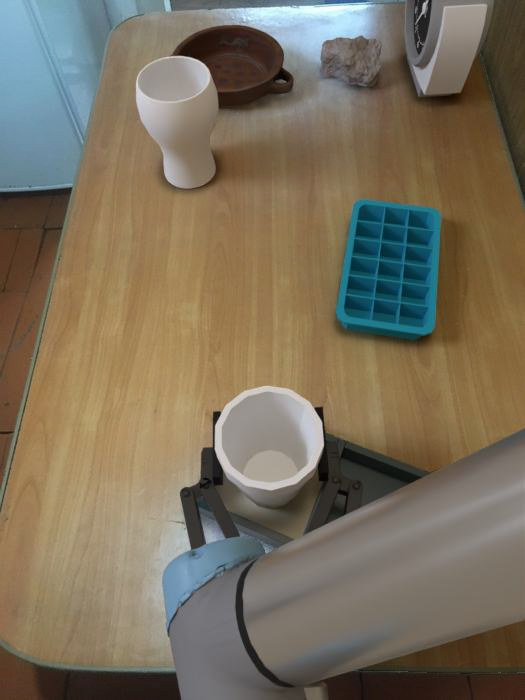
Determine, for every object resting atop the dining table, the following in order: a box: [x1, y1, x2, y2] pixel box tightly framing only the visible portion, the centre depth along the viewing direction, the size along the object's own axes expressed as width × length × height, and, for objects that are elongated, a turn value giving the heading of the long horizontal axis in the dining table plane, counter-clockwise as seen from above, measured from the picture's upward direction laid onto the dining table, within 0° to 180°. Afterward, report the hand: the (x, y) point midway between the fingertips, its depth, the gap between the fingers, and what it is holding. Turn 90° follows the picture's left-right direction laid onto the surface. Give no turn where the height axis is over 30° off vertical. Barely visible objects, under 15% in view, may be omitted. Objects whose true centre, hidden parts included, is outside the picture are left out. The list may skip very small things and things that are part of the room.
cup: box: [135, 55, 220, 189], centre depth 76 cm, size 11×11×15 cm
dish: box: [168, 24, 295, 107], centre depth 91 cm, size 18×22×5 cm
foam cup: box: [215, 384, 324, 509], centre depth 53 cm, size 10×9×13 cm
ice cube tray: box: [335, 198, 442, 341], centre depth 71 cm, size 12×20×3 cm, turn 169°
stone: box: [320, 35, 383, 88], centre depth 90 cm, size 8×10×6 cm
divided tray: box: [197, 432, 432, 548], centre depth 56 cm, size 23×12×4 cm, turn 67°
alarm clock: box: [403, 0, 495, 98], centre depth 83 cm, size 18×8×20 cm, turn 3°
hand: (268, 414), depth 55 cm, fingers closed on foam cup, 9 cm apart
